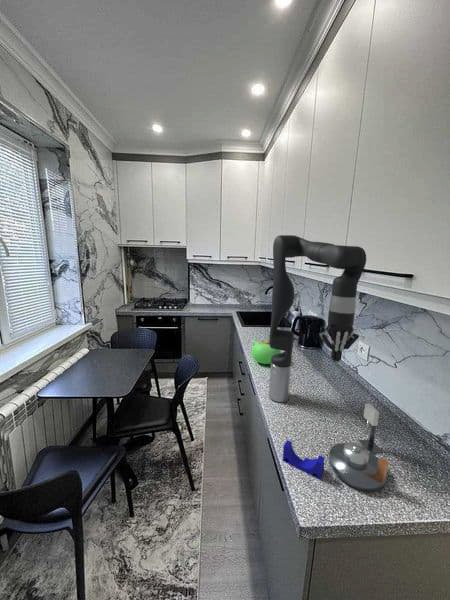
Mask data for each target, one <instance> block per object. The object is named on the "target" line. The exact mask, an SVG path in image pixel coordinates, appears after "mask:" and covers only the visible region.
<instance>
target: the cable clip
mask: <svg viewBox="0 0 450 600" xmlns="http://www.w3.org/2000/svg"><path fill="white" fill-rule="evenodd" d="M282 451H283V452H282V462H284V463H286V464H288V465H290V466H292V467H294V468H297V469H298V470H300V471H301V472H304V473H306V474H308V475H310V476H311V477H315V475H316V479H317V480H319V481H320V480H321V477H322V476H323V473H324V470H325V457H324V456H323V455H318V458H313V459H312V458H308V457H304V459H302V458H301V457H300V456H298V455H297V453H296V452H295V450H294V449H293V443H292V441H290V440H288V439H287V440H286V441H285V443H284V444H283V449H282Z"/></svg>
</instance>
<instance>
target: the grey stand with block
mask: <svg viewBox="0 0 450 600" xmlns="http://www.w3.org/2000/svg"><path fill="white" fill-rule="evenodd" d="M363 411H364V412H363V418H365V419H366V421H367V422H366V428H365V429H366V430H365V435H368V433H369V437H368V439H358V442H359V443H360V445H362V446H363V447H365V448H366V449H367V450H368V451H370V452H371V453H372V454H383V453H384V451H383V450H382V449H381V448H380V447H379V445H377V443H375V438H376V433H377V432H376V431H377V426H378V423H379V417H380V411H379V410H378V409H376V408H375V407H374V406H373V405H372V404H371V403H365V404H364V410H363ZM369 426H370V430H369Z"/></svg>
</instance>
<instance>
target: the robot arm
mask: <svg viewBox="0 0 450 600" xmlns="http://www.w3.org/2000/svg"><path fill="white" fill-rule="evenodd" d="M296 257H305V258H307V259H309V260H310V261H312V262H316V263H318V264H323V265H326V266H328V267H330V268H333V269H337V270H343V272H342V274H341V275H338V276H337V277H335V278H334V279H333V281H332V285H331V286H332V287H331V296H330V299H329V306H328V313H327V314H328V315H327V316H328V317H327V326H326V327H325V330H324V331H323V332H321V331H320V332H319V333H318V336H319V337H320V338H321V340H322V341H323V343H324V345H325V346H326V348H328V349H330V350H331V352H330V353H331V354H330V357H331V360H332V361H333V362H335V363H336V362H340V361H341V360H342V356H343V351H344V350H349V349H350V348H351V347H352V346H353V344H355V342H356V341H357V340H358V339H359V337H360V335H358V334H357V333H355V331H354V328H353V325H354V321H355V314H356V307H357V298H356V297H357V289H358V283H359V282H360V279H361V277H362V274H363V272H364V270H365V267H366V263H367V254H366V250H365V249H364V248H362V247H361V246H357V245H355V246H354V245H337V244H333V243H329V242H323V241H322V242H321V241H310V240H307V239H304V238H302V237H300V236H299V235H293V234H291V235H290V234H288V235H287V234H285V235H277V236H276V237H275V238H274V241H273V246H272V262H273V264H272V265H273V279H272V281H273V283H272V292H271V293H272V296H271V297H272V298H271V320H270V330H269V337H268V341H269V345H270V347H271V348H272V349H277V350H280V351H283V352H281V353H279V354H275V355H273V356H272V358H271V364H270V372H269V386H268V387H269V389H268V397H269V398H270V399H271V401H274V402H278V403H285V402H287V401H289V394H290V393H289V391H290V384H291V383H290V382H291V370H292V369H291V368H292V356H293V355H292V354H293V350H294V349H293V347H294V341H295V335H294V332H293V331H292V330H286V329H278V326H279V324H280V322H281V321H282V320H283V317H285V315H286V314H287V313H288V312H289V310H291V308H292V307H293V304H294V297H295V296H294V295H295V287H294V284H293V282H292V280H291V279H290V276H289V274H288V272H287V267H286V258H287V259H290V258H291V259H292V258H296ZM329 338H330V340H329Z"/></svg>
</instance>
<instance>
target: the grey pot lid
mask: <svg viewBox="0 0 450 600" xmlns="http://www.w3.org/2000/svg"><path fill="white" fill-rule="evenodd" d="M345 443H346V442H341V443H337V444H334V445H332V447H331V448H329V449H330V450H329V454H328V463H329V466H330V468H331V470H332V471H333V472H334V474H335V476H337V477H338V478H339V479H340V480H342V481H343V482H344V483H346V484H347V485H349V486H351V487H352V488H356V489H358V490H361V491H365V492H377V491H380V490H381V489H383V488H384V487H385V485H386V483H387V482H386V481H387V475H388V469H389V463H390V462H389V461H388V460H386V459H385V458H383V457H380V458H378V457H377V456H376V455H375V453H371V452H370V451H368V450H367V451H368V452H369V460H368V467H367V469H366V470H364V471H358V470H355V469H352V468H351V467H349V466H348V465H347V464H346V463H345V462H344V460H343V451H344V445H345Z"/></svg>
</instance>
